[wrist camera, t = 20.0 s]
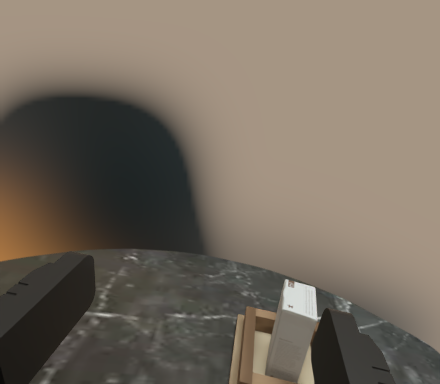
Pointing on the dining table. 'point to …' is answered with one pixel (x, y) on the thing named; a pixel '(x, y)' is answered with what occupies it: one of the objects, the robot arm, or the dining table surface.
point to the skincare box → (292, 331)
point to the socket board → (259, 350)
